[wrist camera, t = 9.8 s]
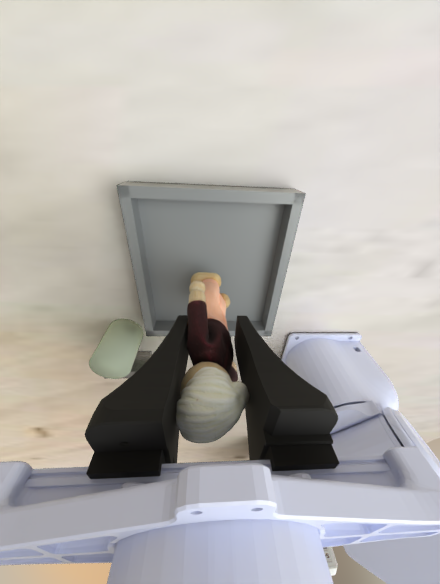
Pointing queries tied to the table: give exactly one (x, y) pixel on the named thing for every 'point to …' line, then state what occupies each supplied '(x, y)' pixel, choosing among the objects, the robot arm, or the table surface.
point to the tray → (209, 247)
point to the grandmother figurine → (209, 366)
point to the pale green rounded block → (117, 349)
